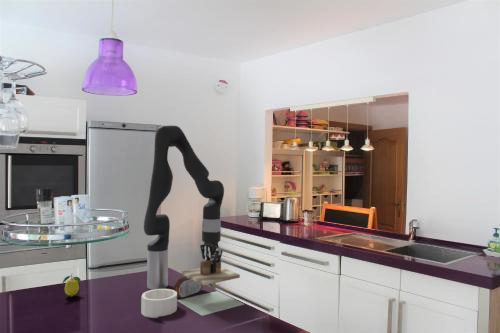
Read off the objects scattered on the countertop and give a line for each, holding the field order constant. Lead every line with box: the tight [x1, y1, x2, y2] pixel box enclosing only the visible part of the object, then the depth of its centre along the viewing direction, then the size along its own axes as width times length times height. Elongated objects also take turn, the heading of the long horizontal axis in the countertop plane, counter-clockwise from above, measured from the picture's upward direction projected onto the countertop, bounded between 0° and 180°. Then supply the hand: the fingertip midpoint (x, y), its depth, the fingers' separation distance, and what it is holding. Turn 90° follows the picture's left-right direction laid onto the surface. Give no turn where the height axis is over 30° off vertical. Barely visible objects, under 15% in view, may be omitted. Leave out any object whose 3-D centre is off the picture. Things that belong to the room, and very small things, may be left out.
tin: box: [173, 276, 204, 299], centre depth 170 cm, size 15×3×8 cm, turn 141°
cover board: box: [181, 258, 241, 286], centre depth 160 cm, size 17×17×6 cm
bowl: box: [140, 288, 178, 319], centre depth 152 cm, size 13×13×6 cm
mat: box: [177, 290, 245, 317], centre depth 160 cm, size 20×20×1 cm
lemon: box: [61, 274, 82, 297], centre depth 167 cm, size 7×6×10 cm
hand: (210, 271), depth 161 cm, fingers closed on cover board, 3 cm apart
